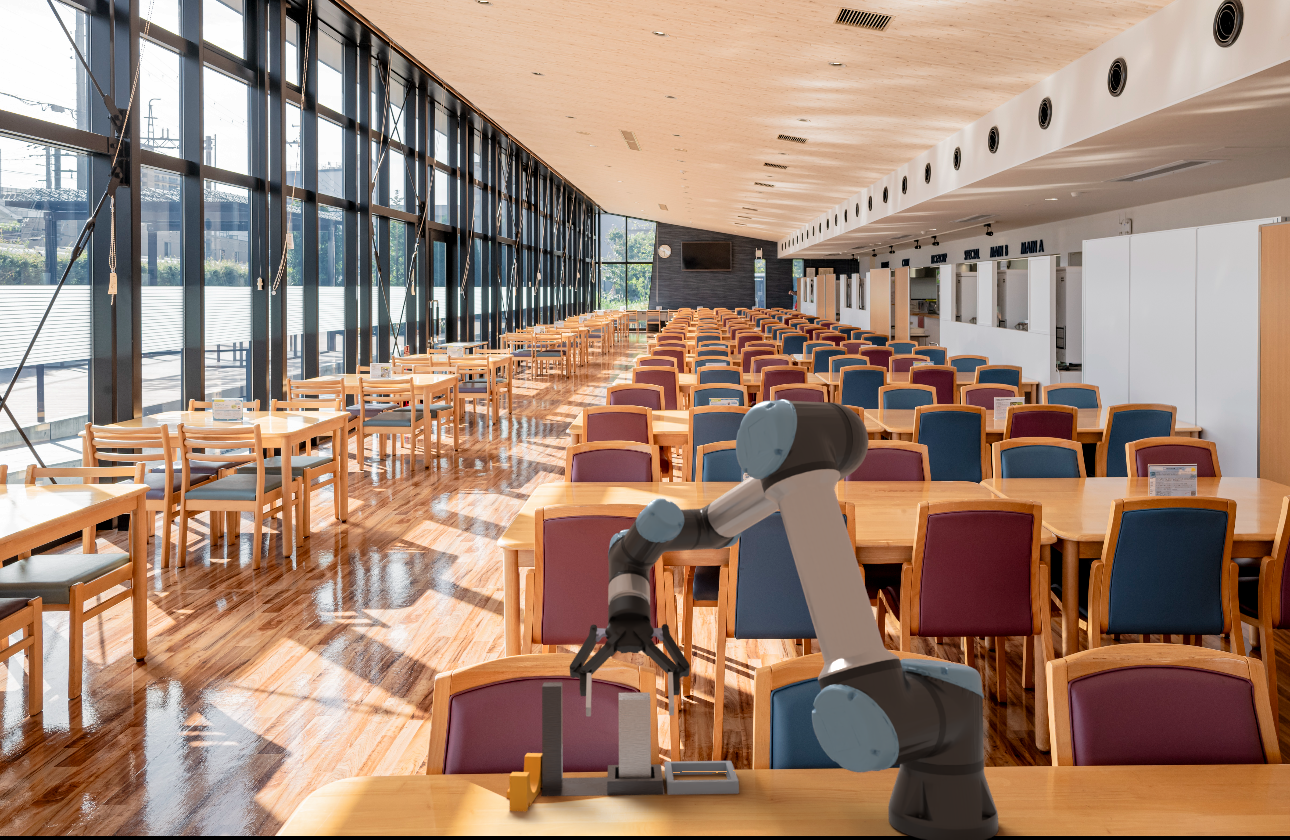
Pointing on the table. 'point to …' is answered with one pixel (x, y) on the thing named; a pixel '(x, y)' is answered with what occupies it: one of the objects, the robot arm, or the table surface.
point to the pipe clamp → (525, 783)
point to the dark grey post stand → (581, 786)
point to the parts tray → (701, 785)
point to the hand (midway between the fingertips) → (630, 711)
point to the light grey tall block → (634, 736)
